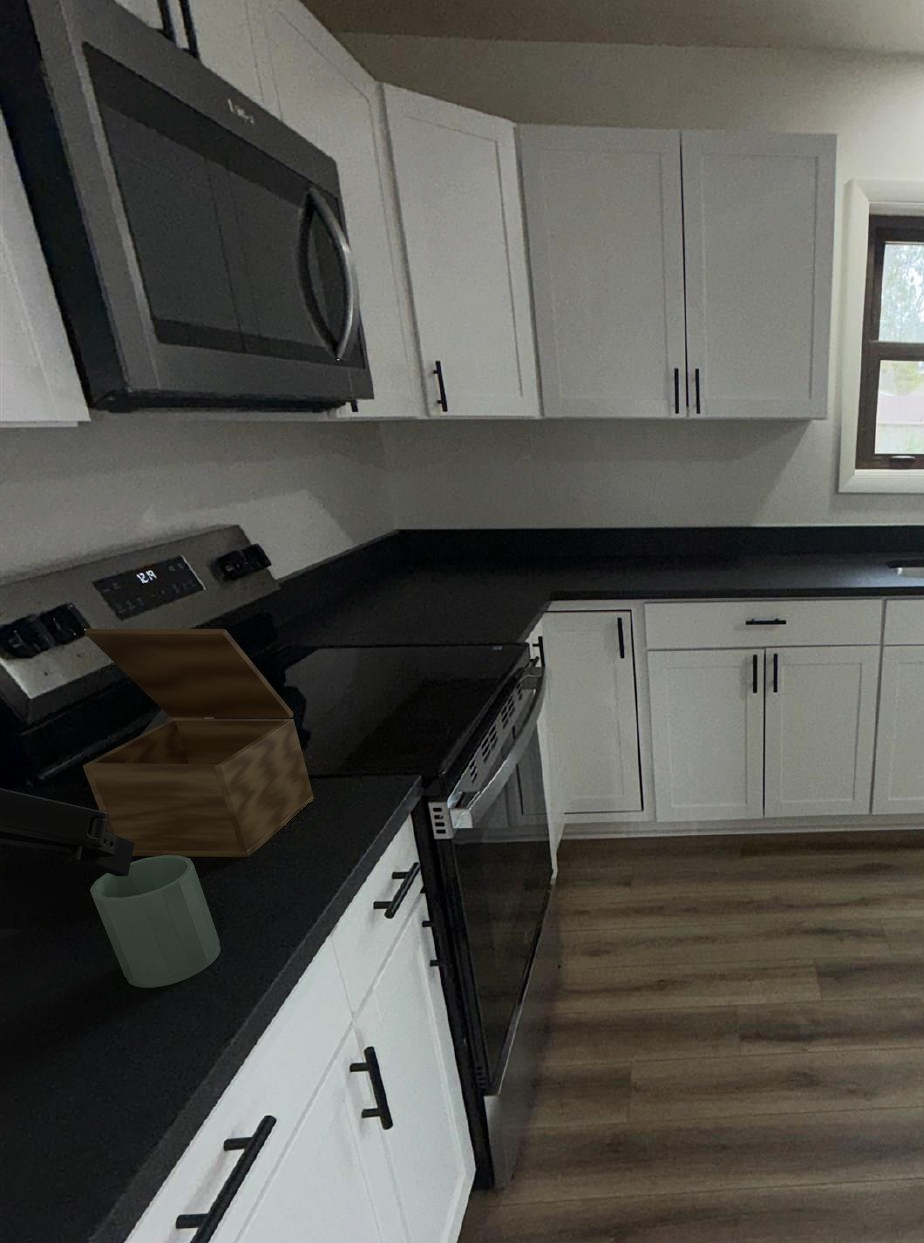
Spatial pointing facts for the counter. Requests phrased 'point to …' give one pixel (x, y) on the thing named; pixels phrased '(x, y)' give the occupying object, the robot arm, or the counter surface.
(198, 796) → the chest
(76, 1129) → the counter surface
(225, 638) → the lid
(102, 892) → the cup
